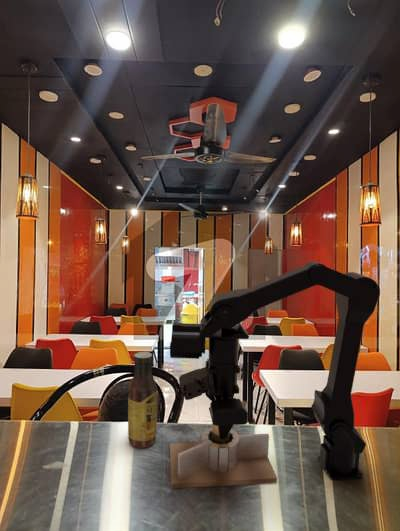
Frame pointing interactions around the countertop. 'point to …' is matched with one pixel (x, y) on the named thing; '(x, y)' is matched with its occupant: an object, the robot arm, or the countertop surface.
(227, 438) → the hinge pin
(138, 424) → the sauce bottle
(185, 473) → the hinge
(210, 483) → the walnut board
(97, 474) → the countertop surface
